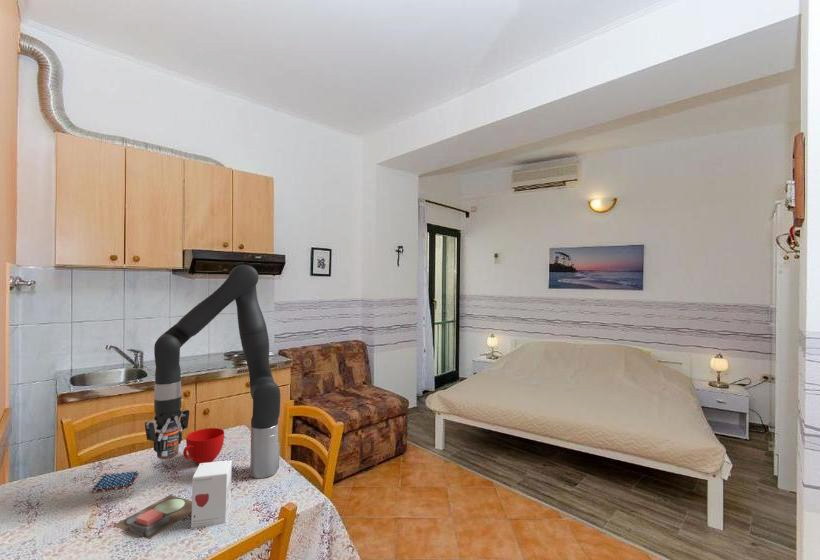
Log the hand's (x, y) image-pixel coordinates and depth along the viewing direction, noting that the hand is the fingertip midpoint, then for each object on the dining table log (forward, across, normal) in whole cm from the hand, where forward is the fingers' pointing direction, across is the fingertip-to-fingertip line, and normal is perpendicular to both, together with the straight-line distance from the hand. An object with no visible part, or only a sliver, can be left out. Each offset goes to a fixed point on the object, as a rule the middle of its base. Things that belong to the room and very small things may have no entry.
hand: (168, 447), depth 126 cm
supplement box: (+15, -5, -25) cm, 30 cm away
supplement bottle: (+3, 0, 0) cm, 3 cm away
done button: (+12, -15, -13) cm, 24 cm away
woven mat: (+15, -2, +21) cm, 26 cm away
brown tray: (+15, -10, -11) cm, 21 cm away
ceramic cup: (+15, +20, +8) cm, 26 cm away
